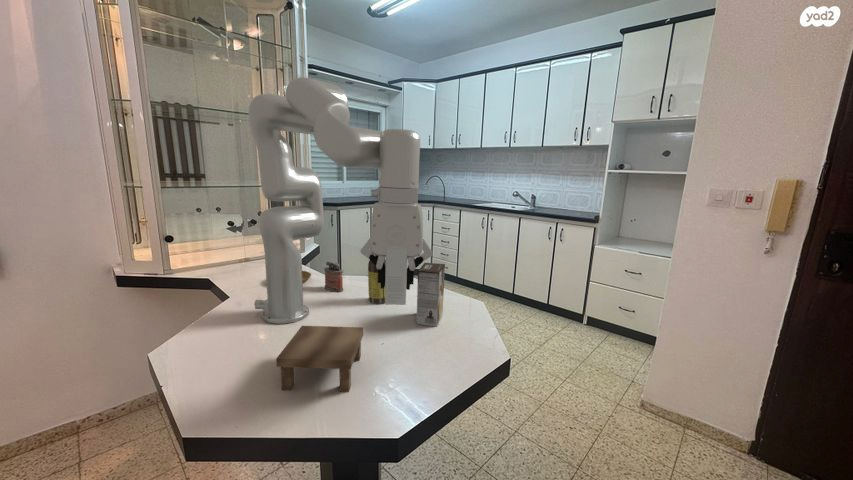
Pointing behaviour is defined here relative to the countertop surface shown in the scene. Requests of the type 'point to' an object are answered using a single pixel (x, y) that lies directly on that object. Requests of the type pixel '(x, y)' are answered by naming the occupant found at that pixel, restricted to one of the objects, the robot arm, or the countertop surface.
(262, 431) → the countertop surface
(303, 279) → the plant saucer
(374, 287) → the sauce bottle
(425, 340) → the countertop surface
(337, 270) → the lighter
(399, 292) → the skincare box
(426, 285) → the coffee box
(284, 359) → the walnut stool
